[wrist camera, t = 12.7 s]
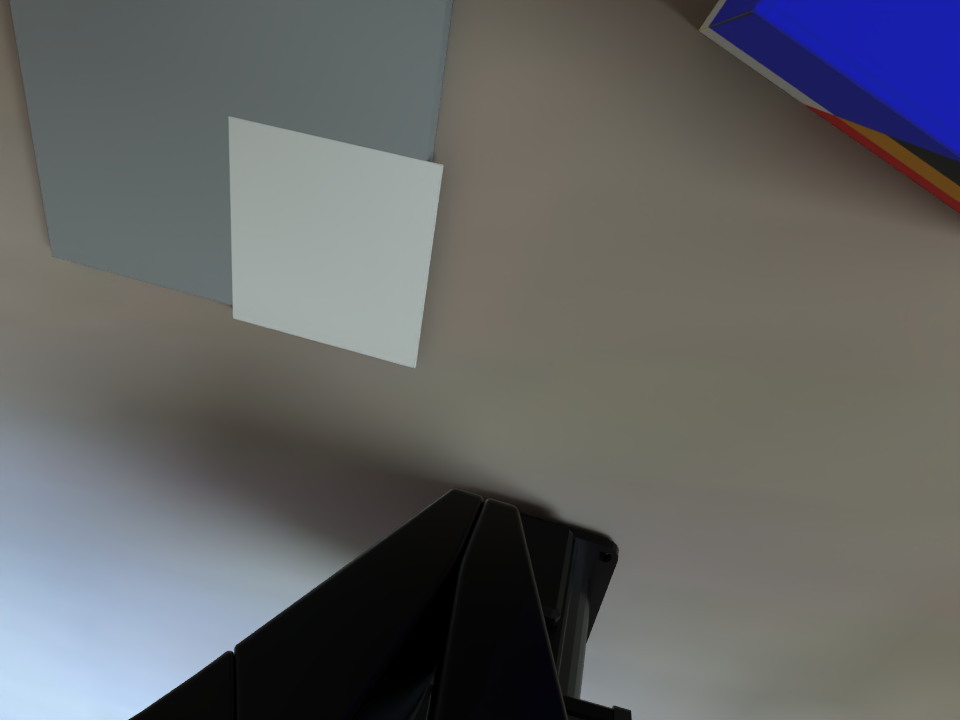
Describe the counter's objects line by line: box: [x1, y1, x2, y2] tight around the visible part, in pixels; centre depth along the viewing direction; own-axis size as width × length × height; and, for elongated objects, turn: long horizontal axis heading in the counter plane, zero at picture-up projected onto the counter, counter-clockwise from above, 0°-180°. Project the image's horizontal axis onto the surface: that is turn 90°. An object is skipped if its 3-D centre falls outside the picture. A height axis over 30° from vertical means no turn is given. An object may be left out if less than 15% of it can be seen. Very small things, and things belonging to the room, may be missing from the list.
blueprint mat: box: [9, 0, 453, 368], centre depth 19 cm, size 18×14×1 cm
